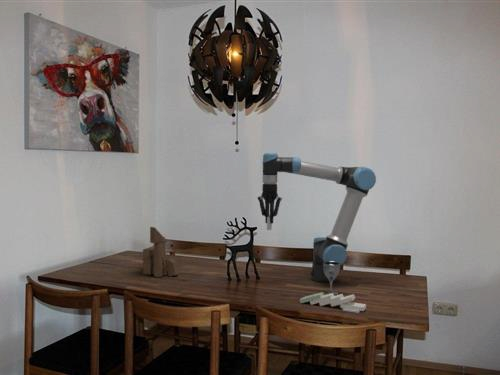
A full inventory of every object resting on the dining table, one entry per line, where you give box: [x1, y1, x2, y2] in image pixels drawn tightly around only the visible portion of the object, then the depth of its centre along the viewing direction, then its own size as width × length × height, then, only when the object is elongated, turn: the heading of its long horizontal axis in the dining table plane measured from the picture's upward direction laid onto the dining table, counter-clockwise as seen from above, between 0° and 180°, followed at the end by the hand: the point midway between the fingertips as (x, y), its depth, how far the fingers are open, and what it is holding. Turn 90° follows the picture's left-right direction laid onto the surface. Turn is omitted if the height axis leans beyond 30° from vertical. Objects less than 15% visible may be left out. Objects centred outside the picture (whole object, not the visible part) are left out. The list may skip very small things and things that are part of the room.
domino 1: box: [299, 291, 325, 304], centre depth 207 cm, size 2×5×10 cm
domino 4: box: [329, 293, 356, 307], centre depth 201 cm, size 2×5×10 cm
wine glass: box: [323, 261, 341, 296], centre depth 224 cm, size 8×8×15 cm
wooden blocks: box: [142, 226, 180, 278], centre depth 261 cm, size 24×20×28 cm
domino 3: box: [318, 293, 345, 307], centre depth 203 cm, size 2×5×10 cm
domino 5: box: [339, 301, 367, 312], centre depth 199 cm, size 2×5×10 cm
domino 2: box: [309, 293, 335, 306], centre depth 205 cm, size 2×5×10 cm
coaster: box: [342, 308, 361, 314], centre depth 199 cm, size 8×7×1 cm
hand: (269, 229), depth 234 cm, fingers closed
